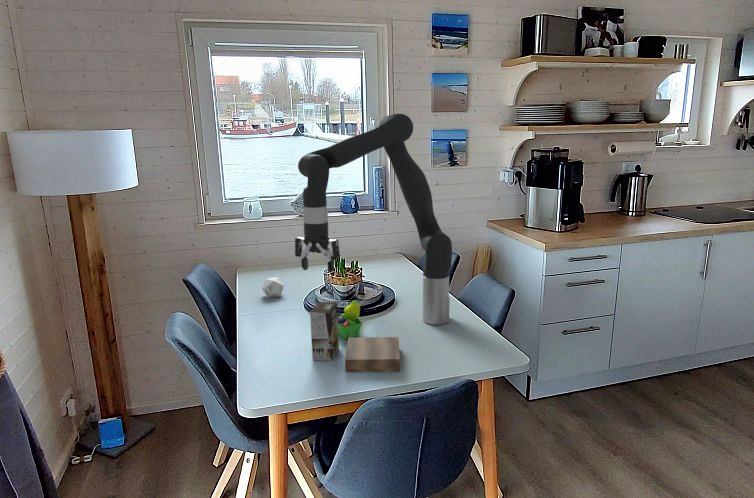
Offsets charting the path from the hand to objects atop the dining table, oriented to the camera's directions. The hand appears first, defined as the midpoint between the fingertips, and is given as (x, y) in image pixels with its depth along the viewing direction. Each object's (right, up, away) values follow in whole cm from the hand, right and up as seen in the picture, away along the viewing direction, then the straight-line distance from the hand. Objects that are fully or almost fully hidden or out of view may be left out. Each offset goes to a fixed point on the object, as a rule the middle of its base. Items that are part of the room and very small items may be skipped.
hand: (317, 270), depth 161 cm
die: (-25, -13, +52) cm, 59 cm away
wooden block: (+17, -27, -4) cm, 33 cm away
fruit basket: (+9, -22, +16) cm, 29 cm away
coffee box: (+3, -27, 0) cm, 27 cm away
